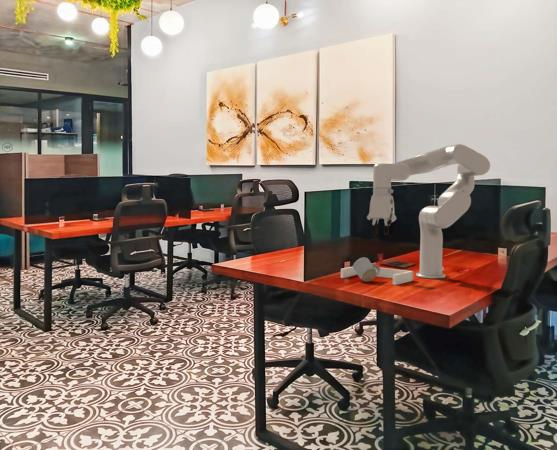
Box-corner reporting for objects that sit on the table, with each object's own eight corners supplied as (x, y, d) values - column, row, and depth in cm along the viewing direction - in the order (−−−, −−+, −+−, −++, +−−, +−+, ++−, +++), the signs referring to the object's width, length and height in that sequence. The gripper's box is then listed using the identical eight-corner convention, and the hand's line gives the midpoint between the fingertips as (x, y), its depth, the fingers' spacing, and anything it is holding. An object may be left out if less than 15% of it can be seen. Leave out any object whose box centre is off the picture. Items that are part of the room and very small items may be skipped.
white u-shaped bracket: (359, 274, 234) (360, 265, 234) (413, 280, 216) (413, 271, 216) (340, 277, 222) (340, 268, 222) (395, 285, 205) (395, 275, 205)
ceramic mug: (362, 285, 212) (362, 273, 207) (353, 273, 218) (352, 260, 213) (384, 276, 214) (384, 263, 209) (374, 264, 220) (374, 251, 215)
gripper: (403, 192, 217) (402, 235, 218) (369, 192, 228) (368, 233, 229) (395, 192, 211) (394, 236, 212) (360, 192, 222) (359, 234, 223)
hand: (381, 234), depth 221 cm, fingers open, 4 cm apart
